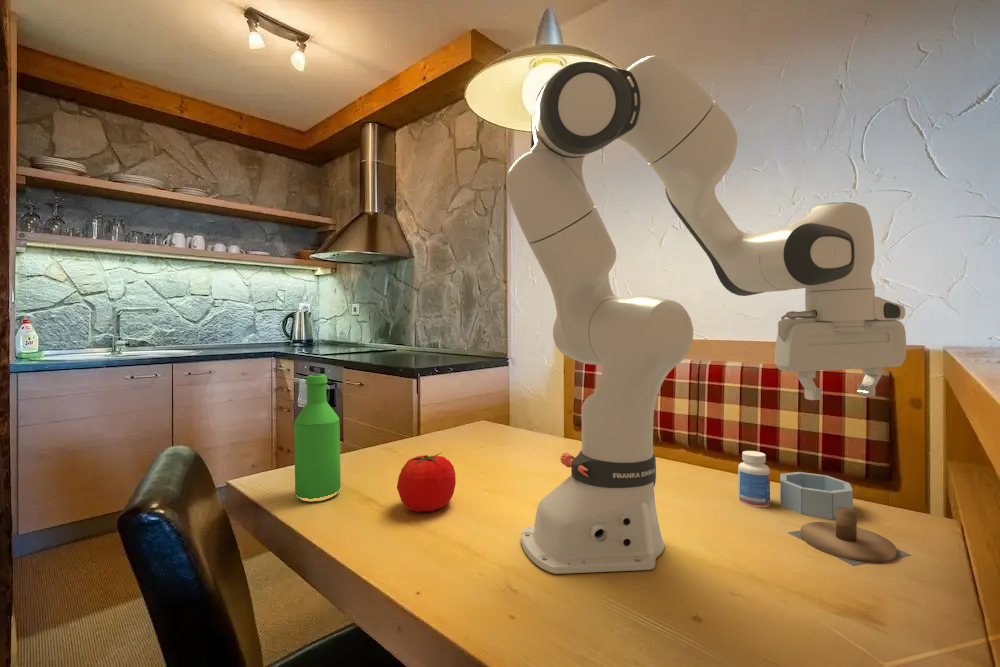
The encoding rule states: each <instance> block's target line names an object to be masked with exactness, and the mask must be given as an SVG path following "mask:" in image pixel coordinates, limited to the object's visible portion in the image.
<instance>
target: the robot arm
mask: <svg viewBox="0 0 1000 667" xmlns="http://www.w3.org/2000/svg"><path fill="white" fill-rule="evenodd" d="M531 115H532V116H531V127H530V128H531V134H530V135H531V138H530V139H531V142H530V150H529V151H528V152H526V153H524V154H523V155H522V156H520V157H518V158H517V160H516V161H514V163H513V164H512V165H511V166H510V168H509V170H508V171H507V175H506V178H505V188H506V191H507V192H506V193H507V194H508V195H507V196H508V198H509V201H510V204H511V207H512V210H513V213H514V215H515V218H516V220H517V222H518V225H519V227H520V229H521V231H522V233H523V235H524V237H525V239H526V241H527V243H528V245H529V247H530V248H531V251H532V252H533V255H534V257H535V258H536V260H537V262H538V264H539V265H540V268H541V271H543V274H544V277H545V278H546V279H547V282H548V284H549V287H550V289H551V292H552V295H553V300H554V303H555V304H554V305H555V310H556V318H555V320H554V322H553V328H552V336H553V341H554V343H555V346H556V348H557V349H558V351H560V353H561V354H562V355H564V356H566V357H568V358H570V359H572V360H574V361H576V362H580V363H581V364H585V365H594V366H602V368H601V375H600V378H599V382H598V384H597V387H596V389H595V391H594V392H593V393H592V394H590V395H588V396H587V397H586V399H584V401H583V403H582V406H581V450H580V451H579V452H578V454H577V455H576V456H574V455H572V454H570V453H569V452H563V453H562V454H561V455H560V458H559V460H560V463H561V464H562V465H564V466H565V467H566V468H570V469H571V475H570V476H568V477H567V478H566V479H565V480H563V481H562V482H561V483H560V484H559V485H557V486H556V487H555V488H554V489H552V490H551V491H550V492H549V493H547V494H546V495H545V496H544V497H543V498H541V500H540V501H539V502H538V506H537V508H536V511H535V518H534V525H528V526H526V527H524V528H523V529H522V531H521V534H520V544H521V546H522V548H523V551H524V552H525V554H526V556H528V558H529V560H531V561H532V563H534V564H535V565H537V566H538V567H539V568H541V569H542V570H545V571H546V572H549V573H551V574H555V575H557V574H558V575H559V574H579V573H580V574H581V573H583V574H584V573H604V572H627V571H628V572H629V571H649V570H653V569H655V567H656V563H657V561H656V559H657V558H658V557H659V556H660V555H661V554H662V553H663V551H664V549H665V542H664V540H663V536H662V532H661V528H660V524H659V518H658V514H657V506H656V496H655V495H656V494H655V487H656V486H655V485H656V480H657V463H656V462H657V461H656V455H655V454H654V452H653V450H654V447H653V446H654V417H655V416H654V414H655V407H656V402H657V398H658V395H659V392H660V389H661V387H662V386H663V383H664V381H665V379H666V378H667V376H668V375H669V373H670V372H671V371H672V370H673V369H674V368H675V367H676V366H678V365H679V364H680V363H681V362H683V360H685V358H686V357H687V355H688V354H689V352H690V350H691V348H692V344H693V339H694V327H693V322H692V318H691V317H690V315H689V313H688V311H687V310H686V308H684V306H683V305H682V304H681V303H679V302H677V301H675V300H673V299H672V300H671V299H667V298H662V297H656V296H652V295H651V296H650V295H641V296H640V295H638V296H636V295H635V296H627V297H626V296H625V297H617V296H616V294H615V293H614V292H613V290H612V287H611V284H610V274H609V273H610V272H611V270H612V269H613V267H614V265H615V262H616V260H617V249H616V247H615V244H614V242H613V241H612V238H611V236H610V234H609V232H608V230H607V228H606V225H605V223H604V221H603V219H602V217H601V215H600V213H599V211H598V209H597V207H596V205H595V203H594V200H593V198H592V196H591V195H590V193H589V191H588V190H587V187H586V183H585V180H584V174H583V164H584V160H585V158H586V156H588V155H590V154H592V153H594V152H597V151H600V150H601V149H603V148H605V147H606V146H608V145H610V144H611V143H612V142H614V141H615V140H621V141H623V142H624V143H626V144H628V145H629V146H631V147H632V148H634V149H635V150H636V151H637V153H638V154H639V156H641V157H642V158H643V160H644V161H645V162H646V163H647V164H648V165H649V166H650V167H651V169H652V170H654V172H655V173H656V174H657V176H658V177H659V178H660V180H661V181H662V183H663V185H664V187H665V188H664V189H665V195H666V196H665V197H666V198H667V200H668V203H669V205H670V206H671V208H672V209H673V210H674V213H675V214H676V215H677V217H678V218H679V219H680V220H681V222H682V224H683V225H684V226H685V227H686V229H687V230H688V232H689V233H690V235H692V237H693V239H695V241H696V242H697V244H698V245H699V247H700V248H702V250H703V252H704V253H705V254H706V256H707V257H708V259H709V261H710V262H711V264H712V265H711V266H713V269H714V271H715V274H716V276H717V279H718V280H719V282H720V284H722V286H723V287H724V288H725V289H726V291H728V292H730V293H731V294H733V295H735V296H736V295H737V296H741V297H746V296H748V297H749V296H753V295H758V294H762V293H763V294H764V293H771V292H785V291H791V290H799V289H800V290H801V289H804V292H805V293H804V294H805V295H804V296H805V298H804V300H805V301H804V303H805V304H804V305H805V306H804V307H805V309H804V310H801V311H796V310H791V311H787V312H786V313H785V314H784V315H783V316H781V317H780V318H779V319H778V322H777V335H776V342H775V349H774V364H775V366H776V367H777V368H778V370H779V371H784V372H790V373H797V374H796V376H797V379H798V380H799V382H800V384H801V386H802V387H803V389H804V398H805V399H806V400H809V401H818V400H822V394H823V392H822V390H823V389H822V388H820V387H817V385H816V384H815V381H814V380H813V379H816V378H817V376H816V375H817V374H816V372H817V371H836V370H855V369H857V370H858V369H862V374H865V375H864V377H863V379H862V382H861V384H857V385H856V388H857V391H856V392H857V393H856V394H857V395H858V396H860V397H863V398H867V397H870V398H871V397H875V396H876V386H877V384H878V382H879V381H880V379H881V378H882V376H883V368H893V367H894V368H895V367H901V366H902V365H903V363H904V361H905V360H906V357H907V336H906V335H907V334H906V327H905V325H904V323H902V321H900V320H904V319H905V316H906V308H905V306H903V305H902V304H899V303H896V302H893V301H890V300H887V299H885V298H882V297H879V296H876V290H875V289H876V288H875V283H874V282H873V279H872V278H873V277H872V269H873V266H874V263H875V237H874V230H873V224H872V219H871V215H870V214H869V211H868V209H867V208H866V207H865V206H863V205H860V204H858V203H855V202H849V201H848V202H844V201H843V202H829V203H823V204H821V205H818V206H815V207H813V208H812V209H811V210H810V211H809V213H808V214H807V215H806V216H805V217H803V218H802V219H800V220H797V221H796V222H793V223H791V224H788V226H783V227H779V228H776V229H773V230H768V231H764V232H760V233H749V232H746V231H742V230H741V229H739V228H738V226H737V225H736V224H735V222H734V220H732V218H731V217H730V215H729V214H728V212H727V211H726V210H725V208H724V206H722V204H721V203H720V201H719V200H718V198H717V195H716V191H715V190H716V186H717V185H718V184H719V183H720V181H721V180H722V179H723V178H724V176H725V175H726V173H727V172H728V171H729V169H730V168H731V165H732V164H733V161H734V160H735V157H736V153H737V148H738V134H737V130H736V127H735V126H734V124H733V123H732V120H731V118H730V117H729V116H728V115H727V113H726V112H725V111H724V110H723V108H721V106H720V105H719V104H718V103H717V102H716V101H715V100H714V98H712V96H710V94H709V93H708V92H707V91H706V90H705V89H704V88H703V87H702V86H701V85H700V84H699V83H698V82H697V81H696V80H695V79H694V78H693V77H692V76H690V75H689V74H688V73H686V72H685V71H684V70H683V69H681V68H680V67H679V66H677V65H676V64H675V63H673V62H672V61H670V60H669V59H667V58H666V57H664V56H660V55H650V56H646V57H644V58H641V59H639V60H638V61H636V62H635V63H633V64H632V65H630V66H629V67H628V68H626V69H624V68H620V67H616V66H612V65H609V64H605V63H602V62H598V61H594V60H577V61H574V62H570V63H568V64H566V65H564V66H562V67H561V68H559V69H558V70H557V71H556V72H554V73H553V74H552V75H551V76H550V78H549V79H548V80H547V81H546V82H545V83H544V84H543V85H542V87H541V88H540V90H539V92H538V95H537V97H536V99H535V102H534V106H533V110H532V114H531Z"/></svg>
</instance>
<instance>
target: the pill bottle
mask: <svg viewBox="0 0 1000 667" xmlns="http://www.w3.org/2000/svg"><path fill="white" fill-rule="evenodd" d="M741 456H742V457H741V459H742V461H743V462H740V463H739V464H738V468H737V469H738V470H737V472H738V474H737V475H738V476H737V478H738V479H737V480H738V481H737V482H738V484H737V485H738V487H737V488H738V489H737V495H738V496H737V498H738V502H739V503H741V504H742V505H745V506H748V507H751V508H767V507H769V506H770V505H771V470H770V467H769V466H768V465H767V464H765V463H766V462H767V459H766V458H767V455H766V453H763V452H760V451H756V450H744V451H742V454H741Z"/></svg>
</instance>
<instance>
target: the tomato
mask: <svg viewBox="0 0 1000 667" xmlns="http://www.w3.org/2000/svg"><path fill="white" fill-rule="evenodd" d="M441 454H442V452H439V453H437V454H434V455H431V456H430V455H428V454H425V455H417V456H415V457H412V458H409V459H408V460H407V461H406V462H405V464H404V465H403V466H402V468H401V470H400V473H399V475H398V479H397V485H396V490H397V492H398V496H399V498H400V501H401V503H403V505H404V506H405V507H406V508H407V509H409V510H411V511H412V512H415V511H416V513H421V512H420V511H428V512H434V511H436V510H438V509H441V508H443V507H445V506H446V505H447V504H448V503H449V502H450V501H451V500H452V497H454V496H453V495H454V493H455V490H456V484H457V483H456V471H455V468H454V465H453V464H452V463H451V461H450V460H449V459H447V458H446V457H445V456H442V455H441Z"/></svg>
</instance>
